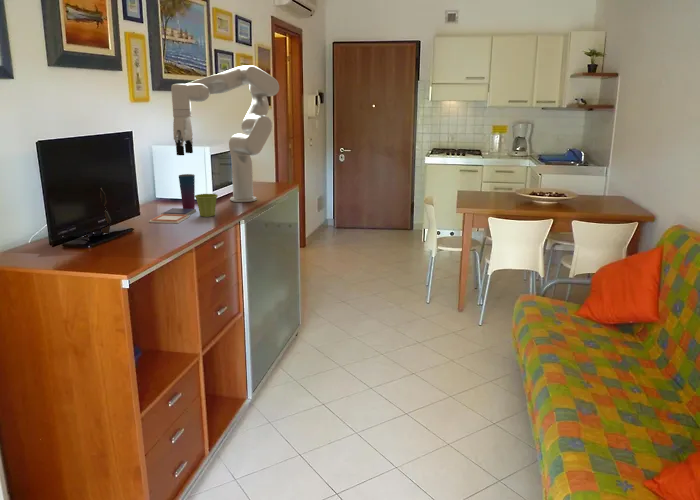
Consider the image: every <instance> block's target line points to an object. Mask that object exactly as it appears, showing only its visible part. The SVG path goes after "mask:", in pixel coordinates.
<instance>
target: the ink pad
mask: <svg viewBox="0 0 700 500" xmlns="http://www.w3.org/2000/svg"><path fill="white" fill-rule="evenodd" d="M196 212H197V208H195V209H183V207H182V208H179V207H178V208H176V207H173V208H169V209H168V210H166V211H163V212H161V214H179V215H187V216H190V215H192V214H195V213H196ZM161 214H160V215H161Z"/></svg>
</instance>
